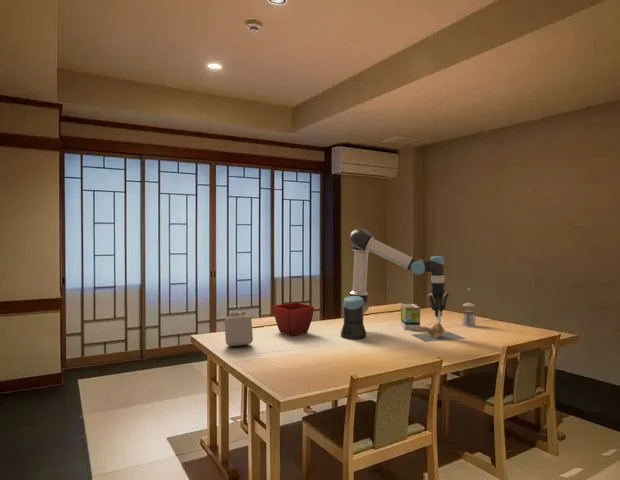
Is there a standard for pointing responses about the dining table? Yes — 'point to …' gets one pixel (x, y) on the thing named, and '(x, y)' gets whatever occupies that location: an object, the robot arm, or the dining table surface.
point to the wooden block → (434, 328)
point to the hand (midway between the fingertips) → (438, 321)
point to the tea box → (410, 316)
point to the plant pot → (293, 318)
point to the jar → (238, 329)
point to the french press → (468, 316)
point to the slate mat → (442, 337)
